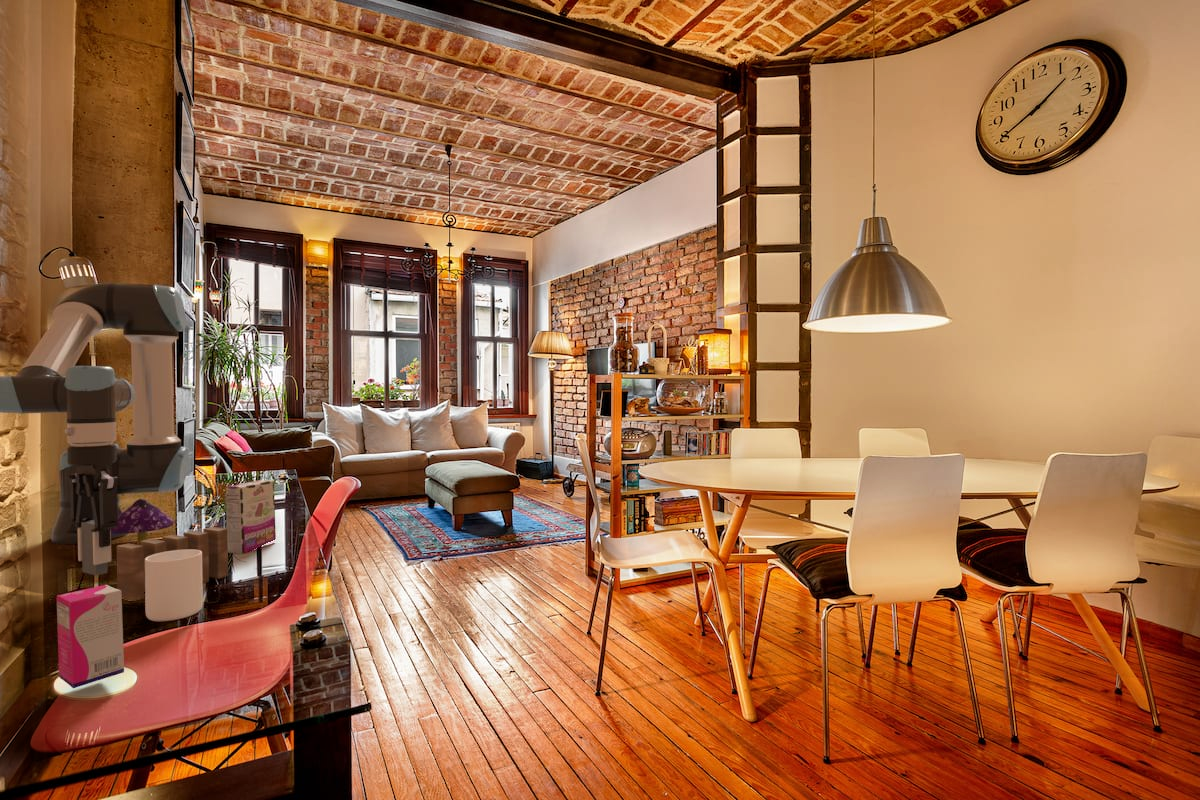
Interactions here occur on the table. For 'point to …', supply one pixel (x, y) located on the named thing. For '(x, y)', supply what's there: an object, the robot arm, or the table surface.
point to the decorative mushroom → (141, 520)
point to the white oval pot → (173, 584)
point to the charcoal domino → (90, 551)
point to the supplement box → (90, 635)
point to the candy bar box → (250, 515)
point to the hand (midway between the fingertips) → (94, 560)
